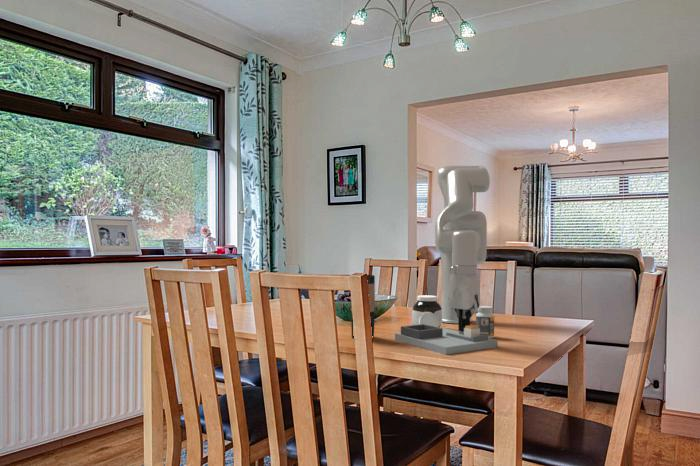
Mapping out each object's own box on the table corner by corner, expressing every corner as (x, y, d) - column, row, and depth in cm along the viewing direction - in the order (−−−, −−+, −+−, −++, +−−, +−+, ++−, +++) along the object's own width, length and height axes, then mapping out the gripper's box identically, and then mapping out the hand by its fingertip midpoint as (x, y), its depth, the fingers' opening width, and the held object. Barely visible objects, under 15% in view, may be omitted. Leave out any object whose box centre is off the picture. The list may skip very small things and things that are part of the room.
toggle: (463, 337, 158) (463, 325, 158) (472, 336, 160) (472, 324, 160) (471, 339, 155) (471, 327, 155) (479, 338, 157) (479, 326, 157)
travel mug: (379, 337, 169) (379, 275, 169) (362, 340, 164) (362, 276, 164) (362, 334, 175) (363, 274, 175) (346, 337, 169) (346, 275, 170)
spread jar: (430, 326, 191) (430, 294, 191) (452, 331, 181) (452, 297, 182) (404, 329, 185) (404, 296, 185) (425, 334, 175) (426, 299, 175)
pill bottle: (494, 339, 167) (494, 308, 167) (476, 338, 169) (476, 307, 169) (493, 336, 173) (493, 305, 173) (475, 335, 174) (475, 305, 174)
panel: (395, 339, 166) (395, 325, 166) (443, 333, 176) (443, 320, 176) (445, 354, 145) (445, 338, 145) (497, 347, 156) (497, 331, 156)
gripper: (438, 269, 165) (438, 328, 165) (472, 273, 152) (472, 336, 153) (456, 269, 169) (456, 325, 169) (491, 272, 156) (491, 334, 156)
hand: (464, 330), depth 161 cm, fingers closed
